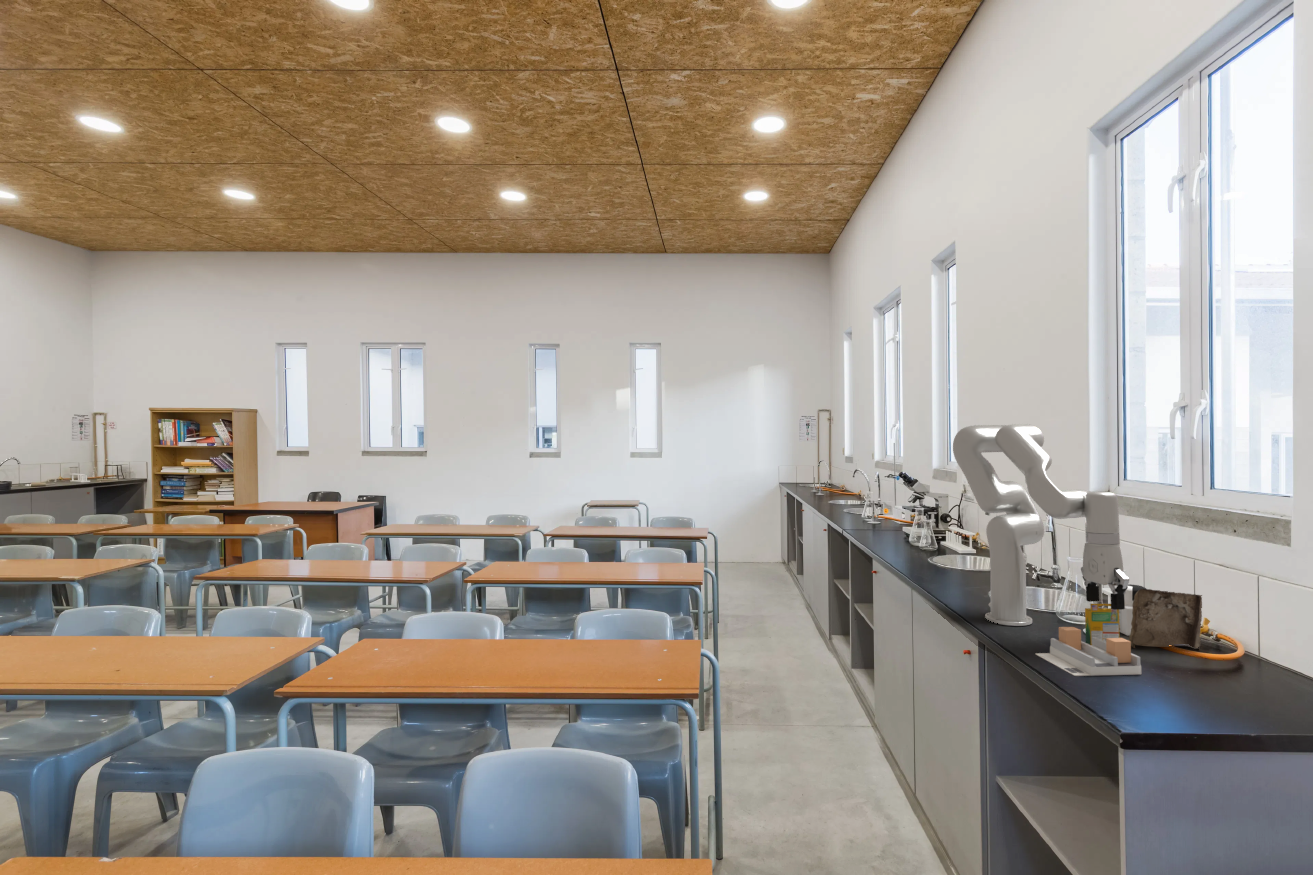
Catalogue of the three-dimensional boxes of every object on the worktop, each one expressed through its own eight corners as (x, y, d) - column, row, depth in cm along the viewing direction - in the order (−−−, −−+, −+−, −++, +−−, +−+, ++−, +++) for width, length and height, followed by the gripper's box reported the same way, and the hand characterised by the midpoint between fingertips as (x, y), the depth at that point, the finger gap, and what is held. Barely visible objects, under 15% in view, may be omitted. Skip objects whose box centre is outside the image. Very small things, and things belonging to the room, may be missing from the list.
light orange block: (1106, 658, 168) (1106, 638, 168) (1122, 658, 169) (1121, 637, 169) (1115, 662, 165) (1114, 641, 165) (1130, 662, 166) (1130, 641, 166)
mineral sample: (1132, 648, 183) (1132, 589, 183) (1124, 644, 187) (1124, 586, 187) (1204, 651, 181) (1204, 591, 181) (1195, 646, 185) (1194, 588, 185)
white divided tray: (1035, 654, 180) (1035, 638, 180) (1096, 652, 180) (1096, 637, 180) (1074, 675, 164) (1074, 658, 164) (1141, 674, 164) (1141, 657, 164)
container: (1140, 628, 201) (1139, 582, 201) (1156, 636, 194) (1156, 588, 194) (1111, 628, 202) (1111, 582, 202) (1126, 635, 194) (1126, 588, 194)
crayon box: (1113, 644, 186) (1113, 600, 186) (1120, 648, 184) (1120, 603, 183) (1084, 644, 187) (1084, 600, 187) (1090, 648, 184) (1090, 603, 184)
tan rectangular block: (1058, 646, 178) (1058, 626, 178) (1073, 646, 178) (1073, 626, 178) (1066, 650, 175) (1066, 630, 175) (1081, 649, 175) (1081, 629, 175)
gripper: (1068, 535, 193) (1070, 598, 193) (1110, 543, 176) (1113, 613, 176) (1094, 534, 194) (1097, 597, 193) (1140, 543, 176) (1143, 612, 176)
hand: (1105, 605), depth 185 cm, fingers open, 9 cm apart
